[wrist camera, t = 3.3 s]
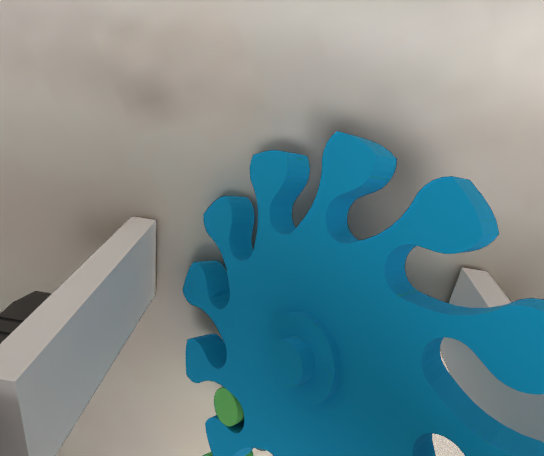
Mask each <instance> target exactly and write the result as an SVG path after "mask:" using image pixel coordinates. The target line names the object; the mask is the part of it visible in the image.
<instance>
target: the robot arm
mask: <svg viewBox="0 0 544 456" xmlns="http://www.w3.org/2000/svg"><path fill="white" fill-rule="evenodd" d="M155 290H156V220H153V219H146V218H140V217H133V216H132V217H131V218H130V219H129V220H128V221H127V222H126V223H125V224H123V225H122V226H121V227H120V228H119V229H118V230H117V231H116V232H115V233H114V234H113V235H112V236H111V237H110V238H109V239H108V240H107V241H106V242H105V243H104V244H103V245H102V246H101V247H100V248H99V249H98V250H97V251H96V252H95V253H94V254H93V255H91V256H90V257H89V258H88V259H87V260H86V261H85V262H84V263H83V264H82V265H81V266H80V267H79V268H78V269H77V270H76V271H75V272H74V273H73V274H72V275H71V276H70V277H69V278H68V279H67V280H66V281H65V282H64V283H63V284H62V285H61V286H59V287H58V288H57V289H56V290H55V291H54V292H53V293H52V294H51V293H45V292H39V291H35V292H33V293H31V294H29V295H27V296H25V297H23V298H21V299H19V300H17V301H15V302H13V303H12V304H11V305H10V306H8V307H7V308H6V309H5V310H4V311H3V312H2V313H0V456H56V454H57V452H58V451H59V449H60V447H61V446H62V444H63V443H64V441H65V439H66V438H67V436H68V435H69V433H70V431H71V430H72V428H73V426H74V425H75V423H76V422H77V420H78V418H79V417H80V415H81V414H82V412H83V410H84V409H85V407H86V405H87V404H88V402H89V401H90V399H91V397H92V396H93V394H94V393H95V391H96V389H97V388H98V386H99V384H100V383H101V381H102V380H103V378H104V376H105V375H106V373H107V371H108V370H109V368H110V367H111V365H112V363H113V362H114V360H115V359H116V357H117V355H118V354H119V352H120V350H121V349H122V347H123V346H124V344H125V342H126V341H127V339H128V338H129V336H130V334H131V333H132V331H133V329H134V328H135V326H136V325H137V323H138V321H139V320H140V318H141V317H142V315H143V313H144V312H145V310H146V308H147V307H148V305H149V304H150V302H151V300H152V299H153V297H154V295H155ZM509 303H511V301H510V300H509V299H508V297H507V296H506V295H505V294H504V292H503V291H502V290H501V288H500V287H499V286H498V285H497V283H496V282H495V281H494V279H493V278H492V277H491V276H490V274H489V273H488V272H487V271H481V270H475V269H468V268H462V269H461V272H460V274H459V277H458V280H457V282H456V285H455V288H454V290H453V293H452V296H451V298H450V301H449V304H452V305H456V306H462V307H469V308H489V307H495V306H501V305H506V304H509ZM440 351H441V354H442V356H443V358H444V361H445V363H446V365H447V368H448V370H449V373H450V375H451V376H452V377H453V379H454V380H455V381H456V382H457V384H458V385H459V386H460V387H461V389H462V390H463V391H464V392H465V393H466V394H467V395H468V396H469V398H470V399H471V400H472V401H473V402H474V403H475V404H476V405H478V406H479V407H480V408H481V409H482V410H483V411H485V412H486V413H487V414H488V415H489V416H491V417H492V418H494V419H495V420H497V421H498V422H500V423H501V424H503V425H504V426H506V427H508V428H510V429H512V430H514V431H516V432H518V433H520V434H522V435H525V436H528V437H530V438H533V439H536V440H539V441H542V442H544V394H541V395H537V394H527V393H524V392H520V391H517V390H515V389H513V388H511V387H508V386H507V385H505V384H504V383H502V382H501V381H499V380H498V379H497V378H496V377H495V376H494V375H493V374H492V373H491V372H490V371H489V370H488V369H487V367H486V366H485V365H484V364H483V363H482V362H481V360H480V359H479V358H478V357H477V356H476V355H475V353H474V352H473V351H472V350H471V349H470V348H469V347H468V346H467V345H465V344H463V343H462V342H460V341H458V340H455V339H453V338H447V337H444V338H443V340H442V342H441V345H440Z"/></svg>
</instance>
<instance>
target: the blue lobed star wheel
mask: <svg viewBox="0 0 544 456" xmlns="http://www.w3.org/2000/svg"><path fill="white" fill-rule="evenodd" d="M396 164H397V159H396V158H395V156H394V155H393V154H392V153H391V152H390V151H388V150H387V149H386V148H384V147H383V146H381V145H379V144H377V143H375V142H373V141H370V140H367V139H364V138H361V137H358V136H354V135H350V134H346V133H343V132H339V131H337V132H336V133H334V134H333V135H332V136H331V138H330V139H329V141H328V142H327V144H326V146H325V149H324V152H323V157H322V173H321V179H320V185H319V188H318V191H317V195H316V197H315V200H314V202H313V204H312V206H311V208H310V210H309V211H308V213H307V214H306V216H305V217H304V219H303V220H302V221H301V223H300V224H299V225H298V227H297V228H296V227H295V225H294V223H293V220H292V207H293V204H294V202H295V200H296V199H297V197H298V196H299V195H300V193H301V192H302V190H303V189H304V187H305V186H306V184H307V181H308V179H309V174H310V165H309V160H308V157H307V156H305V155H301V154H296V153H290V152H284V151H279V150H269V151H264V152H261V153H258V154H255V155H253V157H252V160H251V164H250V178H251V182H252V185H253V187H254V190H255V194H256V199H257V206H258V227H257V234H256V240H255V245H254V250H253V248H252V242H251V238H252V231H253V226H254V218H255V217H254V209H253V206H252V203H251V202H250V200H249V199H248V198H247V197H237V196H223V197H220V198H218V199H217V200H216V201H214V202H213V204H212V205H211V206H210V207H209V208H208V209H207V211H206V212H205V213H204V225H205V228H206V231H207V233H208V234H209V236H210V237H211V238H212V239H213V240H214V241H215V243H216V245H217V246H218V248H219V250H220V252H221V254H222V256H223V259H224V262H225V265H226V269H225V268H224V266H223V265H222V264H221V263H220V262H219V261H216V260H213V261H201V262H193V263H192V265H191V266H190V268H189V270H188V273H187V276H186V279H185V283H184V287H183V293H184V296H185V298H186V300H187V301H188V302H189V303H190V304H191V305H194V306H197V307H199V308H200V309H202V310H203V311H204V312H205V313H207V314H208V315H209V317H210V318H211V319H212V321H213V322H214V324H215V325H216V327H217V329H218V331H219V333H220V334H221V336H222V338H223V340H224V341H223V340H222V338H221V337H220V336H218V335H217V334H208V335H204V336H200V337H195V338H191V339H188V340H187V345H186V374H187V376H188V377H189V379H190V380H191V381H193V382H195V383H200V382H203V381H207V380H209V381H214V382H216V383H218V384H221V385H222V386H223V387H222V388H219V389H218V390H217V391H216V393H215V396H214V406H215V411H216V414H217V415H216V416H214V417H211V418H209V419H208V420H207V421H206V423H205V425H206V433H207V437H208V442H209V445H210V448H211V452H209V453H207V454H205V455H203V456H253V452H252V449H253V448H256V449H258V450H260V451H266V450H267V451H269V452H270V453H272V454H273V456H436V455H435V451H434V446H433V441H432V433H434V434H439V435H442V436H444V437H446V438H448V439H449V440H451V441H452V442H453V443H455V444H456V445H457V446H458V447H459V448H460V449H461V451H462V452H463V453H464V455H465V456H544V442H542V441H539V440H536V439H533V438H530V437H528V436H525V435H522V434H520V433H518V432H516V431H514V430H512V429H510V428H508V427H506V426H504V425H503V424H501V423H500V422H498V421H497V420H495V419H494V418H492V417H491V416H489V415H488V414H487V413H486V412H485V411H483V410H482V409H481V408H480V407H479V406H478V405H476V404H475V403H474V402H473V401H472V400H471V399H470V398H469V396H468V395H467V394H466V393H465V392H464V391H463V390H462V389H461V387H460V386H459V385H458V384H457V382H456V381H455V380H454V379H453V377H452V376H451V375H450V374H449V372H448V371H447V370H446V368H445V366H444V365H443V362H442V360H441V356H440V345H441V342H442V340H443V338H444V337H447V338H453V339H455V340H458V341H460V342H462V343H463V344H465V345H467V346H468V347H469V348H470V349H471V350H472V351H473V352H474V353H475V355H476V356H477V357H478V358H479V359H480V360H481V362H482V363H483V364H484V365H485V366H486V367H487V369H488V370H489V371H490V372H491V373H492V374H493V375H494V376H495V377H496V378H497V379H498V380H499V381H501V382H502V383H504V384H505V385H507V386H508V387H511V388H513V389H515V390H517V391H520V392H524V393H527V394H537V395H541V394H544V299H535V298H529V299H520V300H517V301H515V302H512V303H509V304H506V305H501V306H495V307H489V308H469V307H462V306H456V305H452V304H449V303H446V302H443V301H440V300H438V299H435V298H433V297H430V296H428V295H425V294H423V293H421V292H419V291H417V290H416V289H415V288H414V287H413V286H412V285H411V284H410V282H409V281H408V279H407V277H406V273H405V261H406V257H407V255H408V254H409V252H410V251H411V250H412V249H413V248H414V247H415V246H420V247H423V248H426V249H429V250H432V251H435V252H439V253H444V254H454V253H461V252H468V251H474V250H478V249H481V248H483V247H485V246H487V245H489V244H490V243H491V242H492V241H494V240H495V238H496V237H497V236H498V235H499V231H498V226H497V222H496V219H495V217H494V215H493V212H492V210H491V208H490V206H489V205H488V203H487V202H486V200H485V199H484V197H483V196H482V194H481V193H480V192H479V191H478V190H477V188H476V187H475V186H474V185H473V183H472V182H471V181H470V180H468V179H463V178H458V177H453V176H450V177H441V178H438V179H435V180H432V181H431V182H429V183H428V184H426V185H425V186H424V187H423V188H422V189H421V190H420V191H419V192H418V193H417V195H416V197H415V199H414V200H413V202H412V204H411V205H410V207H409V208H408V209H407V211H406V212H405V213H404V214H403V215H402V217H401V218H400V219H399V220H397V221H396V222H395V223H394V224H393V225H392V226H391V227H389V228H388V229H386V230H384V231H383V232H381V233H379V234H378V235H375V236H373V237H370V238H367V239H364V240H358V239H356V238H355V237H354V236H353V235H352V233H351V232H350V230H349V228H348V223H347V215H348V211H349V208H350V206H351V205H352V203H353V202H354V201H355V200H356V199H358V198H360V197H362V196H364V195H367V194H370V193H373V192H376V191H378V190H380V189H382V188H383V187H384V186H385V185H387V183H388V182H389V181H390V180H391V178H392V176H393V174H394V172H395V169H396ZM226 270H227V272H226Z"/></svg>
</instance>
